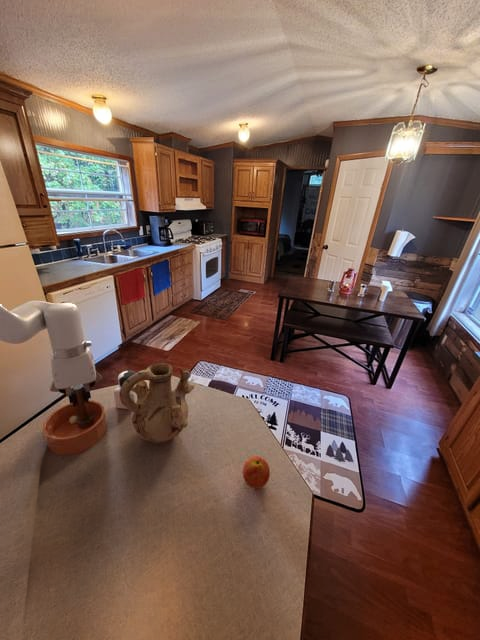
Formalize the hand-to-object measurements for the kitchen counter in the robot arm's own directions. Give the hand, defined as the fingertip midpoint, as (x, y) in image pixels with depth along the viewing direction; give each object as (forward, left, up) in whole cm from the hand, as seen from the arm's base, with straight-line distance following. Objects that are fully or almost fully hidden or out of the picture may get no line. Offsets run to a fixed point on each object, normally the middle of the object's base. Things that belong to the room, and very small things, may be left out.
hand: (81, 401), depth 76 cm
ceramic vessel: (+21, -15, -9) cm, 27 cm away
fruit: (+37, -41, -9) cm, 56 cm away
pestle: (0, 0, -9) cm, 9 cm away
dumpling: (-3, +2, -7) cm, 8 cm away
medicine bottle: (+14, +4, -9) cm, 17 cm away
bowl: (-2, -3, -9) cm, 10 cm away
